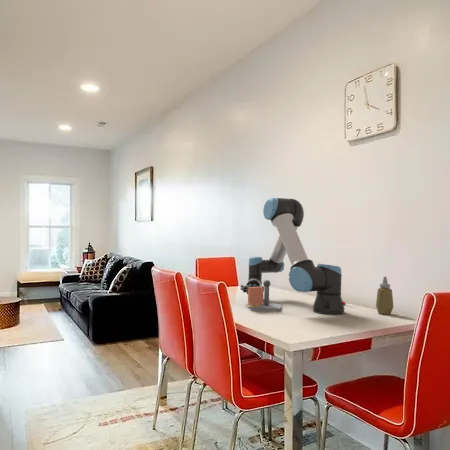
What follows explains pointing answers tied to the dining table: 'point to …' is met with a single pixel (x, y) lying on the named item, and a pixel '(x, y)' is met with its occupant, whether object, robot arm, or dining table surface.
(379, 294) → the squeeze bottle
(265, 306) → the grey flat block
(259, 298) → the lever
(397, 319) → the dining table surface
